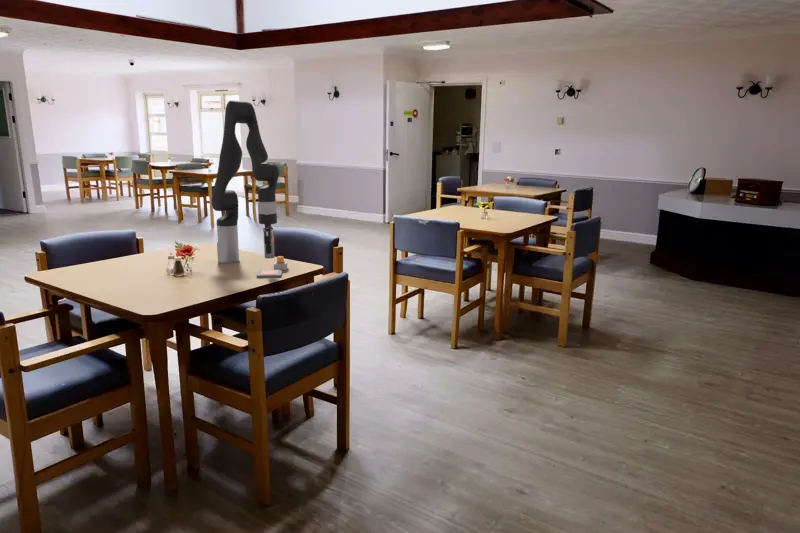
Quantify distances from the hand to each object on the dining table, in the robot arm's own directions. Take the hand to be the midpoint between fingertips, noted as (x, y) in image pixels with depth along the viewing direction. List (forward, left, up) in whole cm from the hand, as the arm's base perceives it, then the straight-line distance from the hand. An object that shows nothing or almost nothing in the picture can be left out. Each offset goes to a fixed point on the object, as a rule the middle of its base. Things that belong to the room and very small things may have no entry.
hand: (269, 252), depth 239 cm
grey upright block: (0, 0, -2) cm, 2 cm away
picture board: (0, 0, -10) cm, 10 cm away
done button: (+4, +10, -7) cm, 13 cm away
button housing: (+4, +10, -10) cm, 15 cm away
